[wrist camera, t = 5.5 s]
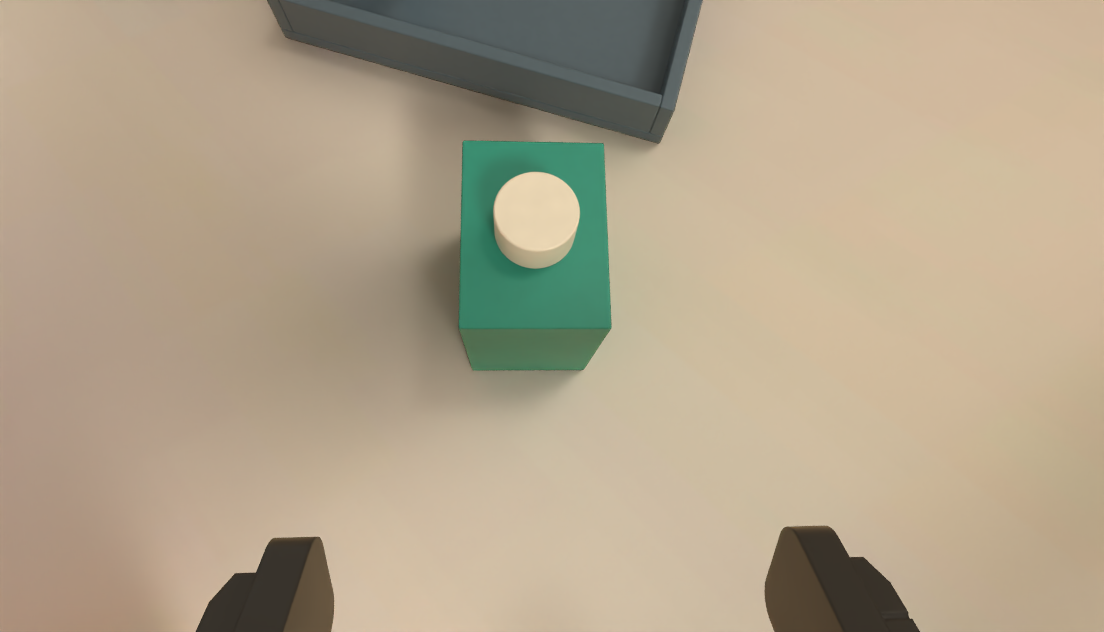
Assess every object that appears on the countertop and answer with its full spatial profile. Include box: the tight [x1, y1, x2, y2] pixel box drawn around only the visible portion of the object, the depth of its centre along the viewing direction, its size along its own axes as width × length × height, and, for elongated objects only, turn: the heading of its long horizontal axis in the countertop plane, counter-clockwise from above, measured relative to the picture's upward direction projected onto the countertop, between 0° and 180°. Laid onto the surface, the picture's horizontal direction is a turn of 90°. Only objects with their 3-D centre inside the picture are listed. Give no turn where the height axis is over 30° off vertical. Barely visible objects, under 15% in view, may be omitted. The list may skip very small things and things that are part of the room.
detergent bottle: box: [459, 141, 611, 370], centre depth 21 cm, size 4×6×8 cm
